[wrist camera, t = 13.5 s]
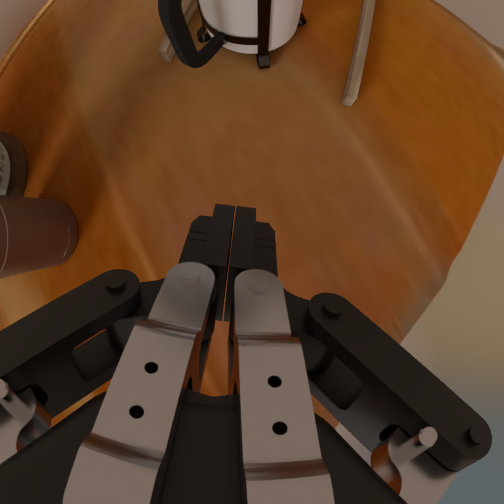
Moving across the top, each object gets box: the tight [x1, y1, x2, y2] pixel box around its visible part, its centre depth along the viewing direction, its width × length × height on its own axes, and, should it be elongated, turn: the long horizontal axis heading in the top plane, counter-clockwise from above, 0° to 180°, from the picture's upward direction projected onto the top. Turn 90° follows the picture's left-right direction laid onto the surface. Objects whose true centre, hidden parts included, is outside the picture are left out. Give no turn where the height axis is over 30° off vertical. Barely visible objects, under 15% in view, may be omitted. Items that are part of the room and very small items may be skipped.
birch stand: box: [157, 0, 376, 106], centre depth 33 cm, size 25×24×3 cm
